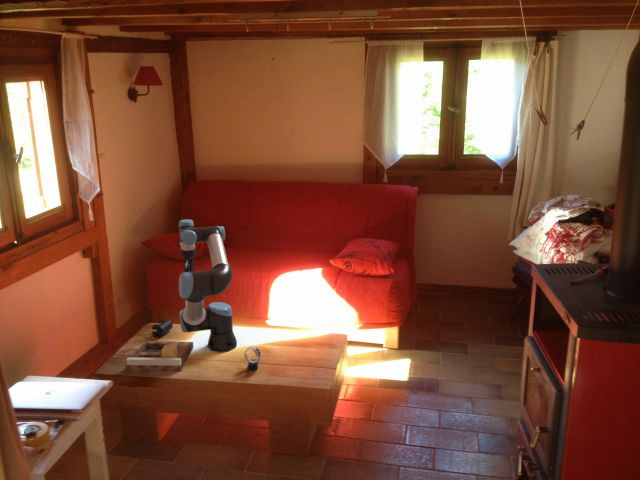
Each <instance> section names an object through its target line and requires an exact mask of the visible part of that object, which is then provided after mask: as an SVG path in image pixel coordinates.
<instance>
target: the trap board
mask: <svg viewBox="0 0 640 480" xmlns="http://www.w3.org/2000/svg"><path fill="white" fill-rule="evenodd" d="M165 345H177V351H178V356H177V358H162V349H163V347H164V346H165ZM193 349H194V341H147V340H146V341H143V343H142V344H141V345H140V347H139V348H138V349H137V351H136V352H135V354H134V355H133V356H132V357H127V358H126V367H127V371H128V372H131V371H132V370H133V371H132V372H135V371H136V372H139V371H142V372H181V371H182V370H183V368H184V366H185V364H186V362H187V360H188V358H189V356H190V355H191V352H192V351H193ZM129 370H130V371H129Z"/></svg>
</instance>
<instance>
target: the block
mask: <svg viewBox="0 0 640 480" xmlns="http://www.w3.org/2000/svg"><path fill="white" fill-rule="evenodd" d="M177 356H178V351H177V345H165V346H164V347H163V349H162V358H177Z"/></svg>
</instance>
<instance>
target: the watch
mask: <svg viewBox="0 0 640 480" xmlns="http://www.w3.org/2000/svg"><path fill="white" fill-rule="evenodd" d="M249 350H252V351H253V353H254V354H255V356H256V357H257V358H258V359H250V357H249V356H248V354H247V351H249ZM261 357H262V352H261V350H260V349H259V348H258V347H257V346H249V347H248V348H246V349H245V352H244V358H245V360H246V361H247V362H248V364H247V369H248V370H247V371H249V370H250V371H251V372H255V371H254V370H257V371H258V369H259V362H260V360H261ZM250 371H249V372H250Z"/></svg>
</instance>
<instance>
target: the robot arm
mask: <svg viewBox="0 0 640 480" xmlns="http://www.w3.org/2000/svg"><path fill="white" fill-rule="evenodd" d="M178 231H179V243H178V244H179V245H180V256H181V257H182V258H184V261H183V262H184V264H183V268H184V269H183V270H184V272H181V274H179V277H178V293H179V297H180V298H181V299H185V308H184V309H181V310H179V315H178V316H179V323H180V328H181V331H182V332H183V333H189V334H190V333H194V332H200V331H201V332H202V331H210V333H209V337H208V340H207V348H208V349H209V350H210V351H213V352H217V353H222V352H224V353H225V352H229V351H232V350H233V349H235V348H236V347H237V346H238V341H237V337H236V336H235V333H234V328H233V326H234V325H233V312H232V306H231V305H229V304H228V303H225V302H220V301H217V302H216V301H214V302H211V303H209V305H208V307H207V306H206V307H204V304H205V303H204V301H205V299H206V297H211V296H217V295H221V294H222V293H224V292H225V291H226V290H227V289H228V288H229V286H230V285H231V283H232V280H233V276H234V275H233V268H232V267H231V265H230V264H229V262H228V258H227V257H228V256H227V253H226V248H225V245H224V241H225V240H226V231H225V227H224V226H222V225H221V226H219V225H216V226H206V227H205V226H204V227H202V226H201V227H195V225H194V221H193V219H189V218H188V219H181V220H180V221H178ZM196 243H207V246H208V252H209V257H210V262H211V266H212V268H211V269H207V270H196V271H195V267H194V266H195V258H194V257H196V255H197V254H196V252H197V251H196Z"/></svg>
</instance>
